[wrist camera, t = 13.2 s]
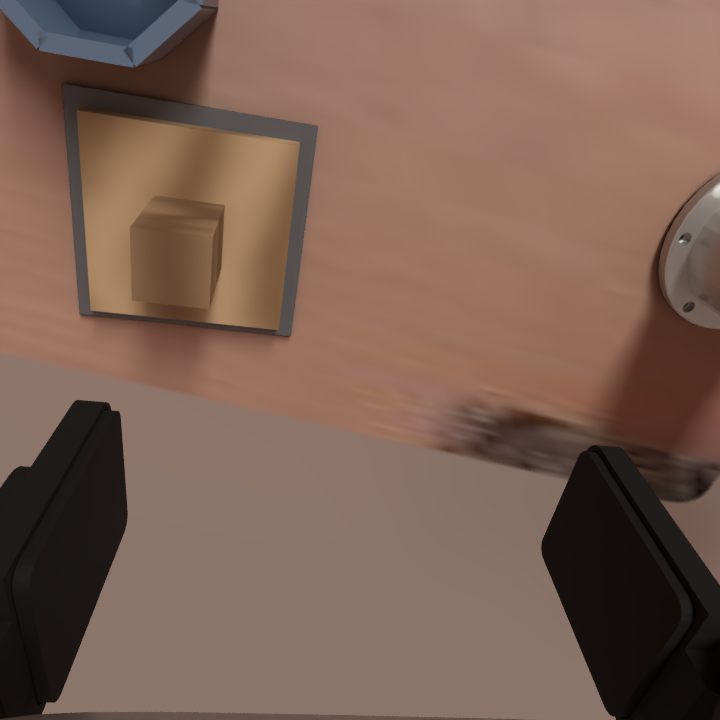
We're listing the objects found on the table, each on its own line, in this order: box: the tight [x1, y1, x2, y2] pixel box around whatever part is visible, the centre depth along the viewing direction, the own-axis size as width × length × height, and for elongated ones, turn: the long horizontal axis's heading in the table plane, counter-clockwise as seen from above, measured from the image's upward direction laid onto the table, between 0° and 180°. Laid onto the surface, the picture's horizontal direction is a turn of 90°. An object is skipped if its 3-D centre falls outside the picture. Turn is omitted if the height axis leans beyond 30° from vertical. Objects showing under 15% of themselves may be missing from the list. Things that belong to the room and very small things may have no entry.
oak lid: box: [77, 107, 300, 330], centre depth 33 cm, size 12×12×7 cm
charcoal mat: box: [62, 83, 318, 336], centre depth 36 cm, size 14×14×1 cm
